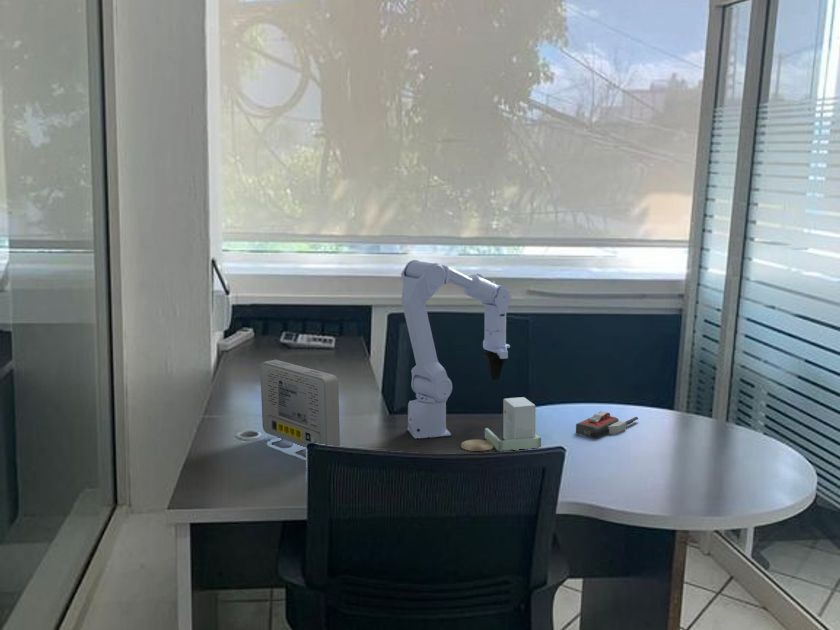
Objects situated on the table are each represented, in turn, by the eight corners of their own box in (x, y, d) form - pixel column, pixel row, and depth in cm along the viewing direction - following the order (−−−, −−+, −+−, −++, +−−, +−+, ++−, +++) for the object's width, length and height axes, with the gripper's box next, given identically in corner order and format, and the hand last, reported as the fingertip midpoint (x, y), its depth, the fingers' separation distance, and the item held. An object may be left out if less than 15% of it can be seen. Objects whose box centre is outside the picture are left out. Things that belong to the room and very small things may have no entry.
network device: (347, 456, 204) (345, 374, 200) (318, 466, 198) (315, 381, 194) (282, 433, 222) (279, 357, 218) (253, 441, 215) (250, 363, 212)
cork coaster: (466, 453, 205) (466, 451, 205) (457, 442, 213) (457, 440, 213) (498, 450, 207) (498, 448, 207) (487, 439, 215) (487, 438, 215)
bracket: (499, 451, 206) (499, 441, 206) (484, 437, 216) (484, 428, 216) (540, 447, 209) (541, 438, 208) (524, 434, 219) (524, 424, 218)
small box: (535, 447, 209) (536, 405, 207) (513, 449, 208) (514, 407, 206) (523, 437, 217) (524, 396, 215) (502, 438, 216) (503, 398, 214)
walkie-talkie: (602, 442, 213) (640, 423, 228) (602, 425, 212) (641, 407, 227) (571, 435, 219) (610, 417, 234) (571, 418, 218) (611, 401, 233)
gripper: (519, 333, 224) (518, 384, 226) (500, 323, 238) (499, 371, 240) (493, 335, 222) (492, 386, 225) (475, 325, 236) (475, 373, 238)
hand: (494, 379), depth 232 cm, fingers closed
